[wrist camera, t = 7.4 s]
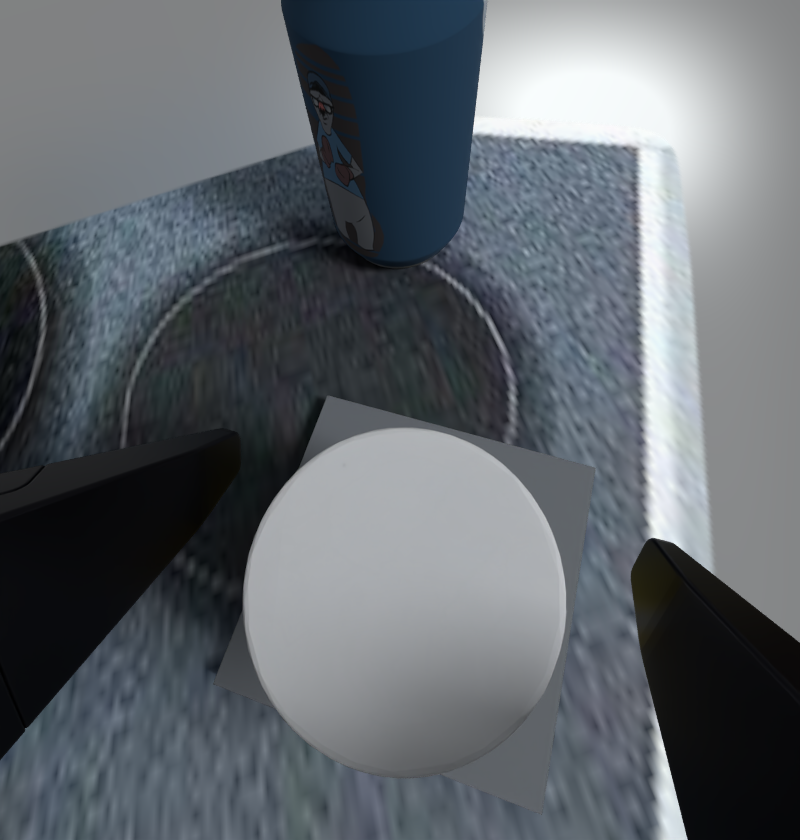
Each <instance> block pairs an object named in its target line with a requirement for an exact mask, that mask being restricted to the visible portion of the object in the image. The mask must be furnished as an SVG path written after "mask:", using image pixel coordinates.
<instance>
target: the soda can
mask: <svg viewBox="0 0 800 840" xmlns="http://www.w3.org/2000/svg"><path fill="white" fill-rule="evenodd" d="M281 6H282V12H283V16H284V20H285V24H286V28H287V32H288V36H289V40H290V45H291V49H292V53H293V56H294V61H295V65H296V69H297V73H298V77H299V81H300V85H301V89H302V93H303V97H304V101H305V106H306V109H307V113H308V118H309V122H310V125H311V130H312V134H313V138H314V142H315V146H316V151H317V155H318V159H319V163H320V167H321V171H322V175H323V179H324V183H325V187H326V191H327V195H328V199H329V204H330V208H331V212H332V216H333V220H334V224H335V227H336V229H337V231H338V233H339V235H340V237H341V238H342V239H343V241H344V242H345V243H346V244H347V245H348V246H349V247H350V248H351V249H352V250H354V251H355V252H356V253H358V254H359V255H360V256H362V257H363V258H365V259H366V260H368V261H369V262H371V263H373V264H376V265H379V266H382V267H387V268H408V267H413V266H416V265H419V264H422V263H424V262H426V261H428V260H429V259H431V258H432V257H434V256H435V255H436V254H437V253H438V252H439V251H440V250H441V249H443V248H444V247H445V246H446V245H447V244H448V243H449V241H450V240H451V239H452V238H453V237H454V235H455V234H456V232H457V231H458V229H459V227H460V224H461V222H462V219H463V214H464V205H465V196H466V187H467V179H468V170H469V161H470V152H471V143H472V134H473V125H474V116H475V107H476V98H477V89H478V81H479V71H480V63H481V54H482V45H483V36H484V27H485V18H486V9H487V0H281Z"/></svg>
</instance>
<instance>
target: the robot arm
mask: <svg viewBox="0 0 800 840" xmlns="http://www.w3.org/2000/svg"><path fill="white" fill-rule="evenodd" d="M240 465H241V446H240V436H239V434H238V433H237V432H235V431H231V430H227V429H215V430H210V431H206V432H201V433H196V434H191V435H186V436H181V437H177V438H172V439H167V440H162V441H157V442H152V443H148V444H143V445H138V446H133V447H128V448H123V449H119V450H114V451H109V452H104V453H99V454H94V455H90V456H85V457H80V458H75V459H70V460H65V461H61V462H56V463H51V464H47V465H46V466H43V465H41V466H36V467H31V468H26V469H21V470H16V471H11V472H6V473H1V474H0V760H1V759H2V757H3V756H4V755H5V754H6V753H7V752H8V750H9V749H10V748H11V747H12V746H13V745H14V743H15V742H16V741H17V740H18V739H19V738H20V736H21V735H22V734H23V733H24V732H25V728H27V727H29V726H30V724H31V723H32V722H33V721H34V720H35V719H36V717H37V716H38V715H39V714H40V713H41V712H42V710H43V709H44V708H45V707H46V706H47V705H48V703H49V702H50V701H51V700H52V699H53V698H54V696H55V695H56V694H57V693H58V692H59V691H60V689H61V688H62V687H63V686H64V685H65V684H66V682H67V681H68V680H69V679H70V678H71V677H72V675H73V674H74V673H75V672H76V671H77V670H78V668H79V667H80V666H81V665H82V664H83V663H84V662H85V660H86V659H87V658H88V657H89V656H90V655H91V653H92V652H93V651H94V650H95V649H96V648H97V646H98V645H99V644H100V643H101V642H102V641H103V639H104V638H105V637H106V636H107V635H108V634H109V632H110V631H111V630H112V629H113V628H114V627H115V625H116V624H117V623H118V622H119V621H120V620H121V618H122V617H123V616H124V615H125V614H126V613H127V611H128V610H129V609H130V608H131V607H132V606H133V605H134V603H135V602H136V601H137V600H138V599H139V598H140V596H141V595H142V594H143V593H144V592H145V591H146V589H147V588H148V587H149V586H150V585H151V584H152V582H153V581H154V580H155V579H156V578H157V577H158V575H159V574H160V573H161V572H162V571H163V570H164V568H165V567H166V566H167V565H168V564H169V563H170V561H171V560H172V559H173V558H174V557H175V556H176V554H177V553H178V552H179V551H180V550H181V549H182V547H183V546H184V545H185V544H186V543H187V542H188V541H189V539H190V538H191V537H192V536H193V535H194V534H195V532H196V531H197V530H198V529H199V527H200V526H201V525H202V524H203V522H204V521H205V520H206V518H207V517H208V516H209V514H210V513H211V511H212V510H213V508H214V507H215V506H216V504H217V503H218V501H219V500H220V498H221V497H222V495H223V494H224V492H225V491H226V490H227V488H228V487H229V485H230V484H231V482H232V481H233V479H234V478H235V477H236V475H237V473H238V472H239V469H240ZM631 585H632V592H633V600H634V607H635V615H636V622H637V630H638V637H639V644H640V650H641V654H642V659H643V663H644V667H645V671H646V675H647V679H648V683H649V687H650V691H651V695H652V699H653V703H654V707H655V711H656V715H657V719H658V723H659V727H660V731H661V735H662V739H663V743H664V747H665V751H666V755H667V759H668V763H669V767H670V771H671V775H672V779H673V783H674V787H675V791H676V795H677V799H678V803H679V807H680V811H681V815H682V819H683V823H684V827H685V831H686V835H687V839H688V840H800V643H799V642H798V641H797V640H795V639H794V638H793V637H792V636H791V635H789V634H788V633H787V632H785V631H784V630H783V629H782V628H780V627H779V626H778V625H777V624H775V623H774V622H773V621H772V620H770V619H769V618H768V617H766V616H765V615H764V614H762V613H761V612H760V611H759V610H758V609H756V608H755V607H754V606H753V605H751V604H750V603H749V602H747V601H746V600H745V599H744V598H742V597H741V596H740V595H739V594H737V593H736V592H735V591H733V590H732V589H731V588H730V587H728V586H727V585H726V584H725V583H723V582H722V581H721V580H719V579H718V578H717V577H716V576H714V575H713V574H712V573H711V572H709V571H708V570H707V569H706V568H704V567H703V566H702V565H701V564H699V563H698V562H697V561H695V560H694V559H693V558H692V557H690V556H689V555H688V554H687V553H685V552H684V551H683V550H681V549H680V548H679V547H678V546H676V545H675V544H674V543H671V542H668V541H664V540H660V539H656V538H651V539H649V540H648V541H647V542H646V543H645V545H644V547H643V548H642V550H641V552H640V554H639V556H638V558H637V560H636V562H635V564H634V566H633V568H632V571H631Z"/></svg>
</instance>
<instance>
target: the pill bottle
mask: <svg viewBox="0 0 800 840" xmlns="http://www.w3.org/2000/svg"><path fill="white" fill-rule="evenodd" d="M565 621H566V588H565V578H564V572H563V567H562V563H561V558H560V553H559V550H558V547H557V544H556V541H555V539H554V536H553V533H552V531H551V528H550V526H549V524H548V522H547V519H546V517H545V515H544V514H543V512H542V511H541V509H540V507H539V506H538V504H537V502H536V501H535V499H534V498H533V496H532V495H531V494H530V492H529V491H528V490H527V489H526V487H525V486H524V485H523V484H522V483H521V481H520V480H519V479H518V478H517V477H516V476H515V475H514V474H513V473H512V472H511V471H510V470H509V469H508V468H507V467H506V466H505V465H503V464H502V463H501V462H500V461H498V460H497V459H496V458H494V457H493V456H492V455H490V454H489V453H487V452H486V451H484V450H483V449H481V448H479V447H477V446H475V445H473V444H471V443H469V442H467V441H465V440H462V439H460V438H458V437H455V436H452V435H449V434H446V433H442V432H438V431H434V430H428V429H421V428H385V429H379V430H373V431H369V432H365V433H362V434H358V435H355V436H352V437H350V438H348V439H345V440H343V441H340V442H338V443H336V444H334V445H332V446H330V447H328V448H327V449H325V450H323V451H322V452H320V453H319V454H317V455H316V456H315V457H313V458H312V459H311V460H310V461H308V462H307V463H306V464H305V465H303V466H302V467H301V468H300V469H299V470H298V471H297V472H296V473H295V474H294V475H293V476H292V477H291V478H290V479H289V480H288V481H287V482H286V483H285V485H284V486H283V487H282V489H281V490H280V491H279V493H278V494H277V495H276V497H275V498H274V499H273V501H272V502H271V504H270V506H269V507H268V509H267V511H266V512H265V514H264V516H263V518H262V520H261V522H260V525H259V527H258V530H257V532H256V534H255V536H254V539H253V542H252V545H251V549H250V552H249V555H248V560H247V565H246V570H245V577H244V585H243V622H244V628H245V634H246V640H247V646H248V651H249V654H250V657H251V660H252V663H253V666H254V669H255V672H256V674H257V676H258V678H259V681H260V683H261V685H262V687H263V689H264V691H265V692H266V694H267V696H268V698H269V700H270V701H271V703H272V704H273V705H274V707H275V708H276V709H277V711H278V712H279V714H280V715H281V717H282V718H283V719H284V720H285V722H286V723H287V724H288V725H289V726H290V727H291V728H292V729H293V730H294V731H295V732H296V733H297V734H298V735H299V736H300V737H301V738H302V739H304V740H305V741H306V742H307V743H308V744H309V745H310V746H312V747H313V748H315V749H317V750H318V751H320V752H321V753H323V754H324V755H326V756H327V757H329V758H330V759H332V760H334V761H336V762H338V763H341V764H343V765H345V766H347V767H349V768H352V769H355V770H358V771H361V772H365V773H369V774H373V775H377V776H382V777H392V778H418V777H427V776H432V775H437V774H442V773H446V772H449V771H451V770H454V769H457V768H459V767H462V766H464V765H467V764H469V763H472V762H474V761H476V760H477V759H479V758H480V757H482V756H484V755H485V754H487V753H489V752H490V751H492V750H493V749H495V748H496V747H498V746H499V745H500V744H501V743H502V742H504V741H505V740H506V739H507V738H508V737H510V736H511V735H512V734H513V733H514V732H515V731H516V730H517V729H518V727H519V726H520V725H521V724H522V723H523V722H524V721H525V720H526V718H527V717H528V716H529V714H530V713H531V711H532V710H533V708H534V707H535V706H536V704H537V702H538V701H539V699H540V698H541V696H542V695H543V693H544V692H545V690H546V687H547V685H548V683H549V681H550V679H551V676H552V674H553V671H554V668H555V665H556V662H557V659H558V656H559V653H560V650H561V645H562V641H563V636H564V631H565Z"/></svg>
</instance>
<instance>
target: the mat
mask: <svg viewBox="0 0 800 840" xmlns="http://www.w3.org/2000/svg"><path fill="white" fill-rule="evenodd" d="M385 428H421V429H428V430H434V431H438V432H442V433H446V434H449V435H452V436H455V437H458V438H460V439H462V440H465V441H467V442H469V443H471V444H473V445H475V446H477V447H479V448H481V449H483V450H484V451H486V452H487V453H489V454H490V455H492V456H493V457H494V458H496V459H497V460H498V461H500V462H501V463H502V464H503V465H505V466H506V467H507V468H508V469H509V470H510V471H511V472H512V473H513V474H514V475H515V476H516V477H517V478H518V479H519V480H520V481H521V483H522V484H523V485H524V486H525V487H526V489H527V490H528V491H529V492H530V494H531V495H532V496H533V498H534V499H535V501H536V502H537V504H538V506H539V507H540V509H541V511H542V512H543V514H544V515H545V517H546V519H547V522H548V524H549V526H550V528H551V531H552V533H553V536H554V539H555V541H556V544H557V547H558V550H559V553H560V558H561V563H562V567H563V572H564V578H565V588H566V621H565V631H564V636H563V641H562V645H561V650H560V653H559V656H558V659H557V662H556V665H555V668H554V671H553V674H552V676H551V679H550V681H549V683H548V685H547V687H546V690H545V692H544V693H543V695H542V696H541V698H540V699H539V701H538V702H537V704H536V706H535V707H534V708H533V710H532V711H531V713H530V714H529V716H528V717H527V718H526V720H525V721H524V722H523V723H522V724H521V725H520V726H519V727H518V729H517V730H516V731H515V732H514V733H513V734H512V735H511V736H510V737H508V738H507V739H506V740H505V741H504V742H502V743H501V744H500V745H499V746H498V747H496V748H495V749H493V750H492V751H490V752H489V753H487V754H485V755H484V756H482V757H480V758H479V759H477V760H476V761H474V762H472V763H469V764H467V765H464V766H462V767H459V768H457V769H454V770H451V771H449V772H446V773H442V774H440V775H443V776H446V777H448V778H451V779H453V780H456V781H458V782H461V783H463V784H466V785H468V786H471V787H473V788H476V789H478V790H481V791H483V792H486V793H488V794H491V795H493V796H496V797H498V798H501V799H503V800H506V801H508V802H511V803H513V804H516V805H518V806H521V807H523V808H526V809H528V810H531V811H534V812H536V813H539V814H541V815H542V810H543V804H544V797H545V791H546V784H547V778H548V771H549V765H550V758H551V752H552V746H553V739H554V733H555V726H556V720H557V713H558V707H559V700H560V694H561V687H562V681H563V674H564V668H565V662H566V655H567V649H568V642H569V636H570V629H571V623H572V616H573V610H574V603H575V597H576V590H577V584H578V578H579V571H580V565H581V558H582V552H583V545H584V539H585V532H586V526H587V519H588V513H589V507H590V500H591V494H592V487H593V481H594V474H595V468H594V467H590V466H587V465H583V464H579V463H575V462H572V461H568V460H564V459H561V458H557V457H553V456H550V455H546V454H542V453H538V452H535V451H531V450H527V449H524V448H520V447H516V446H513V445H509V444H505V443H502V442H498V441H494V440H490V439H487V438H483V437H479V436H476V435H472V434H468V433H465V432H461V431H457V430H453V429H450V428H446V427H442V426H439V425H435V424H431V423H428V422H424V421H420V420H417V419H413V418H409V417H405V416H402V415H398V414H394V413H391V412H387V411H383V410H380V409H376V408H372V407H368V406H365V405H361V404H357V403H354V402H350V401H346V400H343V399H339V398H335V397H332V396H327V398H326V401H325V403H324V406H323V408H322V411H321V413H320V416H319V418H318V421H317V423H316V426H315V429H314V431H313V434H312V436H311V439H310V441H309V444H308V446H307V449H306V451H305V454H304V456H303V459H302V461H301V464H300V466H299V469H300V468H301V467H302V466H303V465H305V464H306V463H307V462H308V461H310V460H311V459H312V458H313V457H315V456H316V455H317V454H319V453H320V452H322V451H323V450H325V449H327V448H328V447H330V446H332V445H334V444H336V443H338V442H340V441H343V440H345V439H348V438H350V437H352V436H355V435H358V434H362V433H365V432H369V431H373V430H379V429H385ZM299 469H298V470H299ZM213 684H214V685H217V686H219V687H222V688H224V689H227V690H229V691H232V692H234V693H237V694H239V695H242V696H244V697H247V698H249V699H252V700H254V701H257V702H259V703H262V704H264V705H267V706H269V707H272V708H275V707H274V705H273V704H272V703H271V701H270V700H269V698H268V696H267V694H266V692H265V691H264V689H263V687H262V685H261V683H260V681H259V678H258V676H257V674H256V672H255V669H254V666H253V663H252V660H251V657H250V654H249V651H248V646H247V640H246V634H245V628H244V622H243V610H242V612H241V615H240V617H239V620H238V622H237V625H236V627H235V630H234V632H233V635H232V638H231V640H230V643H229V645H228V648H227V650H226V653H225V655H224V658H223V660H222V663H221V665H220V668H219V670H218V673H217V675H216V678H215V680H214V683H213ZM275 709H276V708H275Z"/></svg>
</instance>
